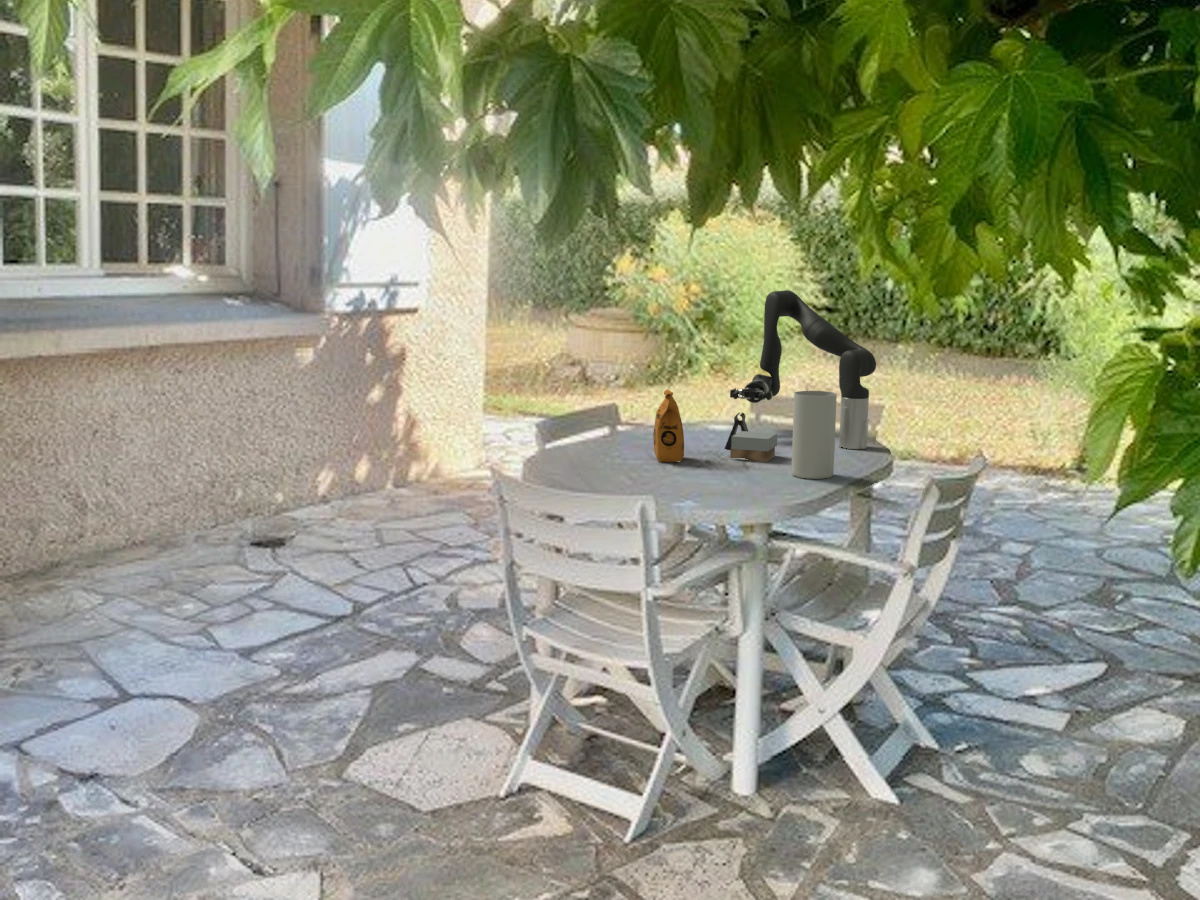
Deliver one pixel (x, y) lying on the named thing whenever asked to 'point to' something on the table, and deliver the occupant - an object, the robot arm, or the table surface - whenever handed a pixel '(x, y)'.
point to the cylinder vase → (813, 434)
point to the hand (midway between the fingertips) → (747, 396)
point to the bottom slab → (753, 454)
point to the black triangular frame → (734, 429)
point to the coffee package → (668, 431)
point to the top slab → (754, 441)
